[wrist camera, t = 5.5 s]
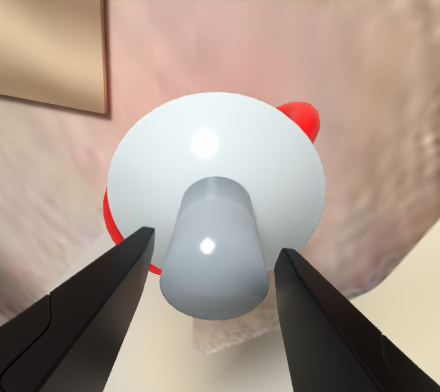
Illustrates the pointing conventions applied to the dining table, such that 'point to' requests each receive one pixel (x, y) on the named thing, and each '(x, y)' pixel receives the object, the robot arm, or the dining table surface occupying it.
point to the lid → (217, 197)
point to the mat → (54, 52)
